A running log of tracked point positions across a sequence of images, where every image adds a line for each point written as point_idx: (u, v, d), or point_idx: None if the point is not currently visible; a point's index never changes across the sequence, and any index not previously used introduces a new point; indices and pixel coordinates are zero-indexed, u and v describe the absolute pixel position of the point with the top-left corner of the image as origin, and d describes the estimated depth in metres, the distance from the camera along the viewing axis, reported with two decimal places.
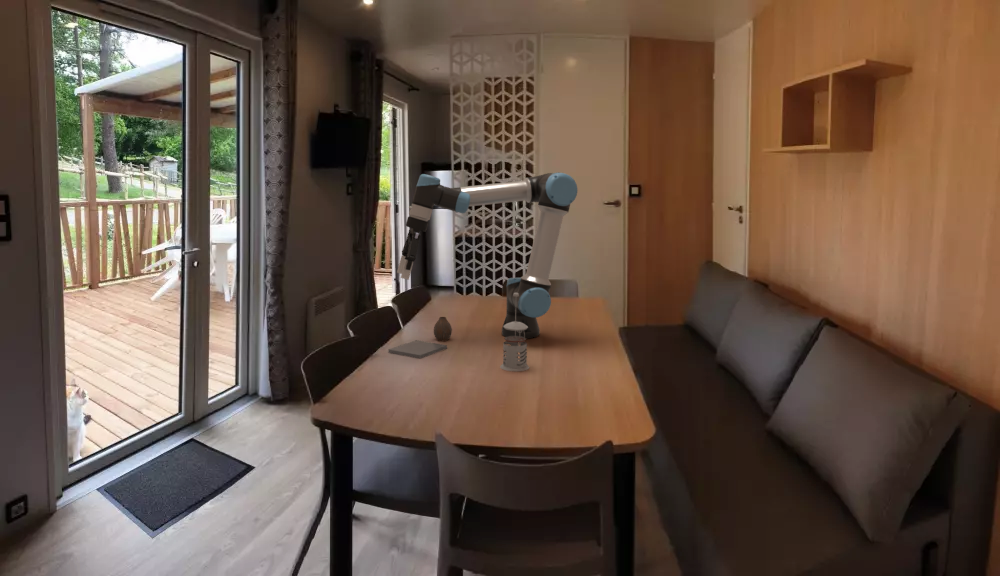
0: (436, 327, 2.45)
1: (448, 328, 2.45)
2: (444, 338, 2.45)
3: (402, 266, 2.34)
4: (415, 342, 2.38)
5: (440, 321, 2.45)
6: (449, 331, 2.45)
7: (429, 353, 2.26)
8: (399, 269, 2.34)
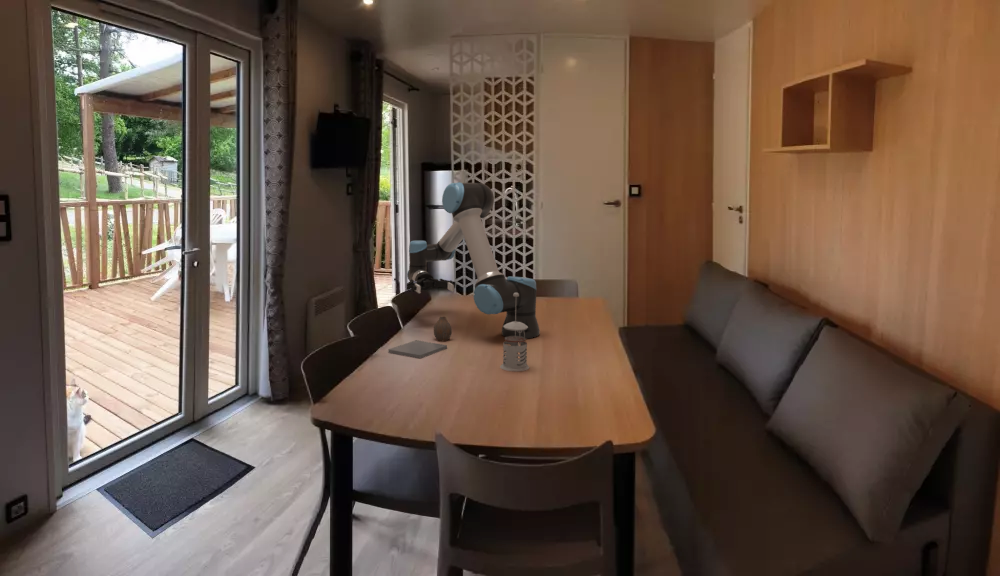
0: (436, 327, 2.45)
1: (448, 328, 2.45)
2: (444, 338, 2.45)
3: (450, 287, 2.58)
4: (415, 342, 2.38)
5: (440, 321, 2.45)
6: (449, 331, 2.45)
7: (429, 353, 2.26)
8: (451, 289, 2.57)
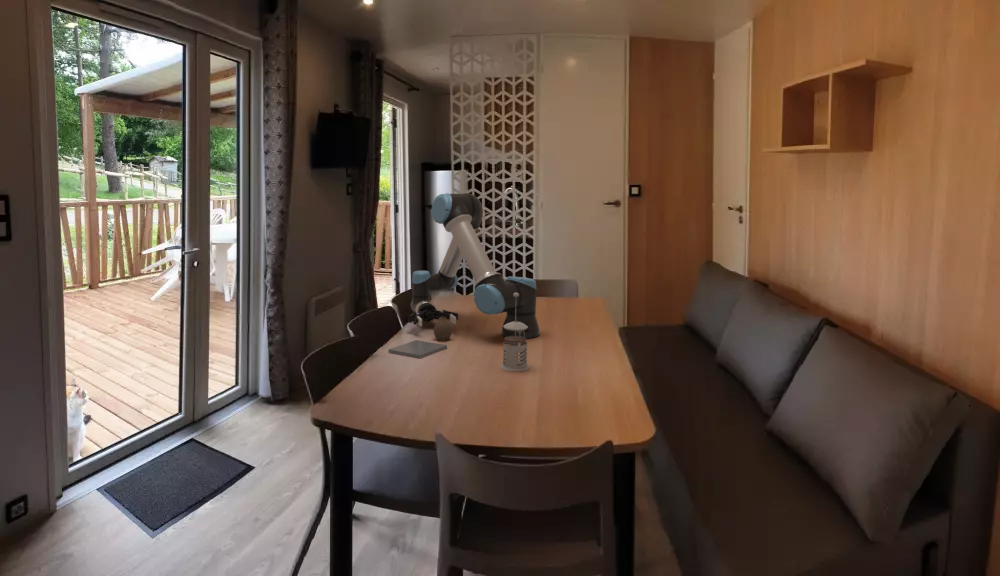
0: (436, 327, 2.45)
1: (448, 328, 2.45)
2: (444, 338, 2.45)
3: (452, 319, 2.56)
4: (415, 342, 2.38)
5: (440, 321, 2.45)
6: (449, 331, 2.45)
7: (429, 353, 2.26)
8: (453, 322, 2.55)
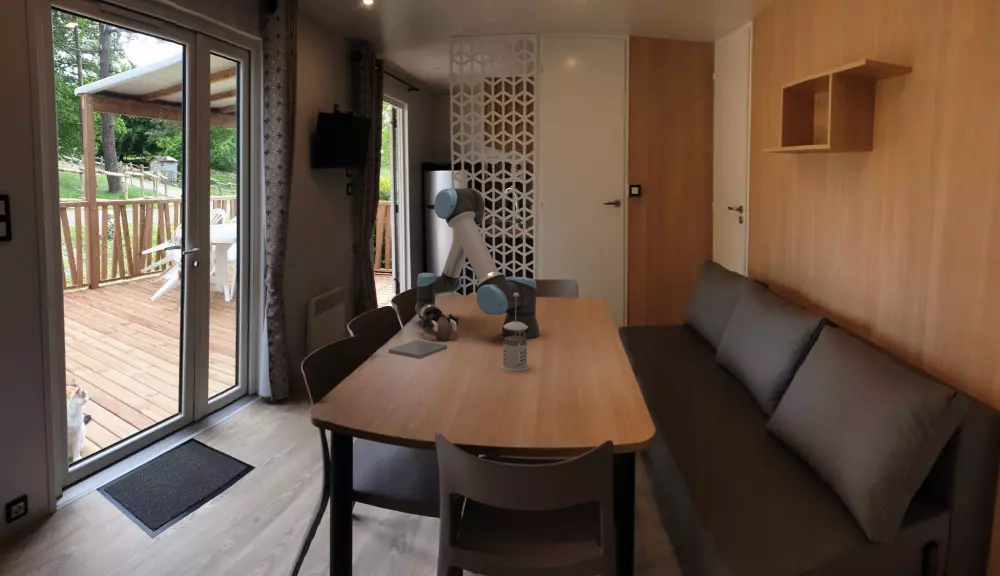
0: None
1: (448, 328, 2.45)
2: (444, 338, 2.45)
3: (452, 325, 2.46)
4: (415, 342, 2.38)
5: (440, 321, 2.45)
6: (449, 331, 2.45)
7: (429, 353, 2.26)
8: (453, 327, 2.45)
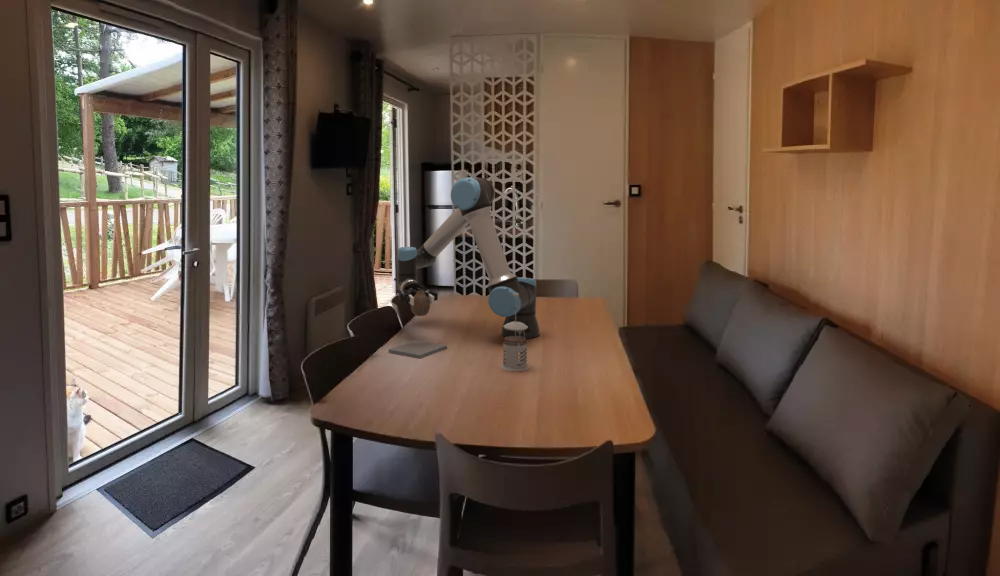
0: None
1: (426, 303, 2.31)
2: (421, 313, 2.31)
3: (430, 299, 2.32)
4: (415, 342, 2.38)
5: (417, 295, 2.31)
6: (427, 306, 2.32)
7: (429, 353, 2.26)
8: (431, 302, 2.31)
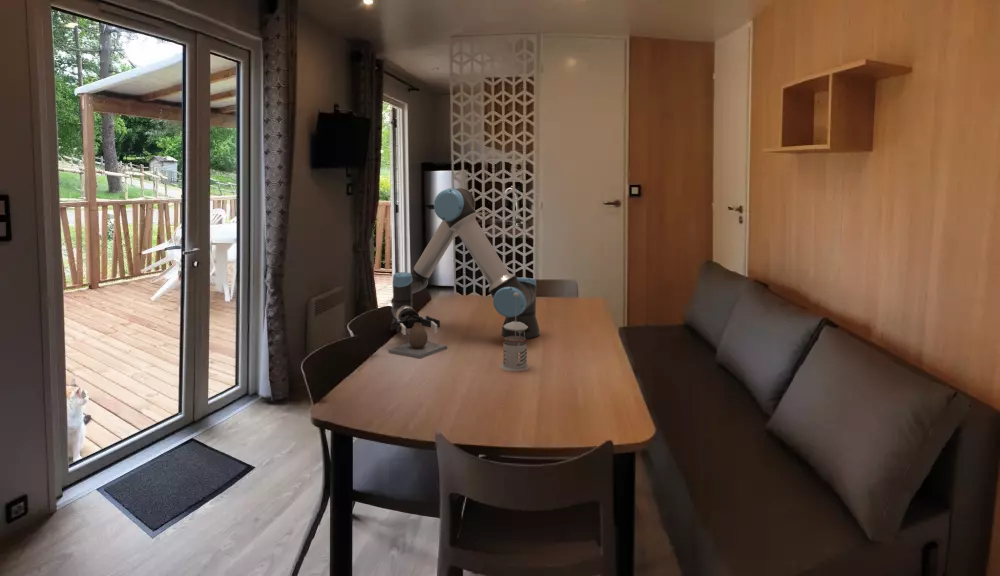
0: (410, 334, 2.28)
1: (424, 335, 2.28)
2: (419, 346, 2.29)
3: (433, 327, 2.31)
4: None
5: (415, 327, 2.29)
6: (424, 338, 2.29)
7: (429, 353, 2.26)
8: (434, 330, 2.29)
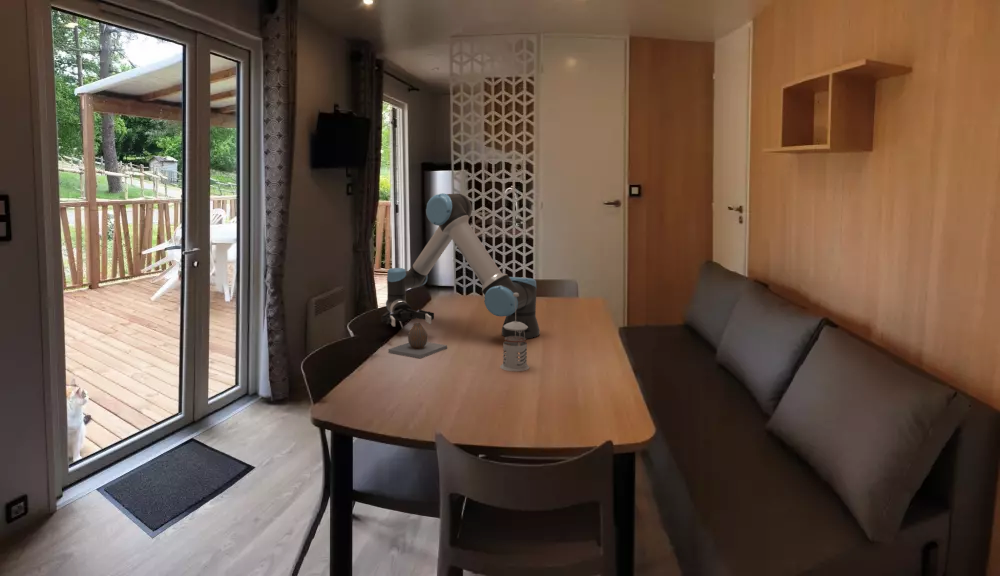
0: (410, 334, 2.28)
1: (424, 335, 2.28)
2: (419, 346, 2.29)
3: (427, 319, 2.44)
4: None
5: (415, 327, 2.29)
6: (424, 338, 2.29)
7: (429, 353, 2.26)
8: (428, 322, 2.43)
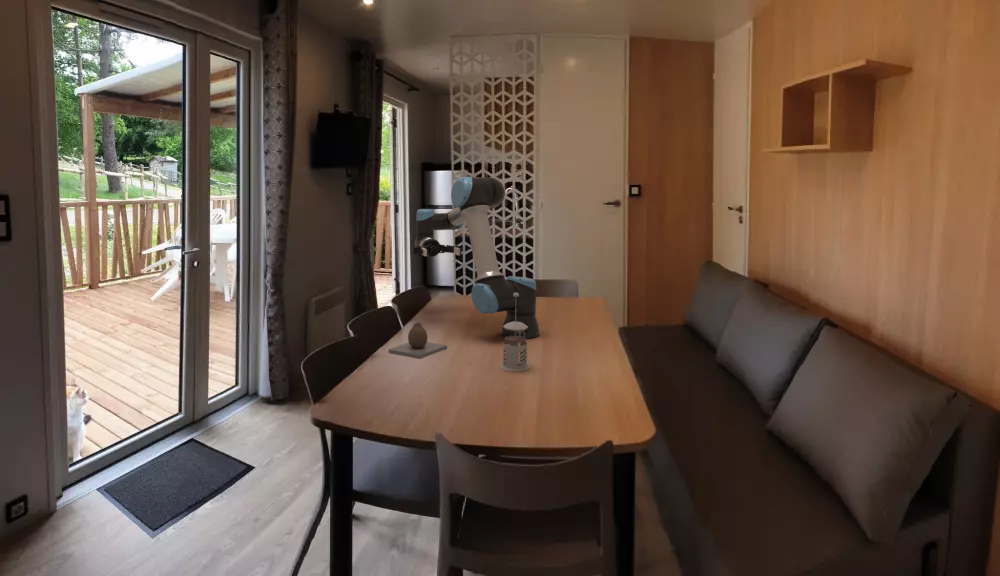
0: (410, 334, 2.28)
1: (424, 335, 2.28)
2: (419, 346, 2.29)
3: (456, 251, 2.62)
4: None
5: (415, 327, 2.29)
6: (424, 338, 2.29)
7: (429, 353, 2.26)
8: (457, 253, 2.60)
